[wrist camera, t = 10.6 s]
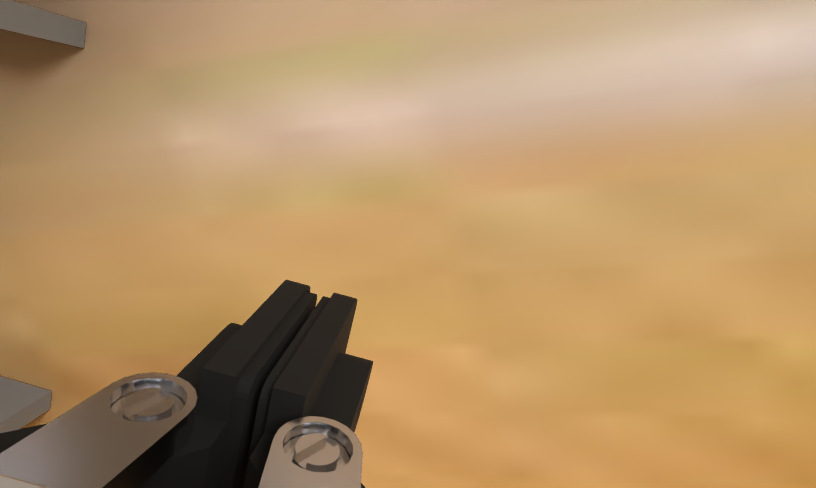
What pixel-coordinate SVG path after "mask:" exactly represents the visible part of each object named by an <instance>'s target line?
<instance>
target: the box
mask: <svg viewBox="0 0 816 488" xmlns="http://www.w3.org/2000/svg"><path fill="white" fill-rule="evenodd" d="M0 29H4V30H8V31H12V32H17V33H21V34H25V35H30V36H34V37H38V38H42V39H47V40H51V41H55V42H59V43H64V44H68V45H72V46H77V47H81V48H84V40H85V30H86V23H85V22H82V21H79V20H75V19H72V18H69V17H65V16H62V15H59V14H56V13H52V12H49V11H46V10H42V9H39V8H36V7H32V6H29V5H26V4H23V3H19V2H16V1H13V0H0ZM50 402H51V391H50V390H46V389H43V388H39V387H36V386H33V385H29V384H26V383H22V382H19V381H16V380H12V379H9V378H5V377H2V376H0V433H4V432H9V431H14V430H19V429H20V428H22V427H23V426H25V425H26V424H28V423H30V422H31V421H33V420H34V419H36V418H37V417H39V416H40V415H42V414H43V413H45V412H46V411H48V410H49V409H50Z"/></svg>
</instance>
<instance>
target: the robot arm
mask: <svg viewBox="0 0 816 488" xmlns="http://www.w3.org/2000/svg"><path fill="white" fill-rule="evenodd" d="M316 301H317V294H313V293H310V286H308V285H304V284H300V283H297V282H293V281H289V280H285V281H284V282H283V283H282V284H281V285H280V286H279V287H278V288H277V289H276V291H275V292H274V293H273V294H272V295H271V296H270V297H269V298H268V299H267V300H266V301H265V302H264V303H263V304H262V305H261V306H260V307H259V308H258V309H257V311H256V312H255V313H254V314H253V315H252V316H251V317H250V318H249V319H248V320H247V321H246V322H245V323H244V324H243V325H239V324H235V323H231V324H229V325H228V326H227V327H226V328H224V329H223V330H222V331H221V332H220V333H219V334H218V335H217V336H216V337H215V338H214V339H213V340H212V341H211V342H210V343H209V344H208V345H207V346H206V347H205V348H204V349H203V350H202V351H201V352H200V353H199V354H198V355H197V356H196V357H195V358H194V359H193V360H192V361H191V362H190V363H189V364H188V365H187V366H186V367H185V368H184V369H183V370H182V371H181V372H180V373H179V374H178V375H177V376H174V375H170V374H164V373H142V374H136V375H132V376H128V377H124V378H122V379H120V380H118V381H116V382H114V383H112V384H110V385H109V386H107V387H105V388H104V389H102V390H101V391H99V392H97V393H96V394H94V395H93V396H91V397H89V398H88V399H86V400H85V401H83V402H81V403H80V404H78V405H77V406H75V407H73V408H72V409H70V410H69V411H67V412H65V413H64V414H62V415H61V416H59V417H57V418H56V419H54V420H53V421H51V422H50V423H48V424H43V425H38V426H33V427H29V428H24V429H19V430H14V431H9V432H4V433H0V488H365V487H364V486H363V484H362V483H361V473H362V455H363V452H362V446H361V442H360V441H359V439H358V437H357V436H356V434H355V433H354V432H355V428H356V425H357V422H358V418H359V415H360V411H361V408H362V404H363V400H364V397H365V393H366V389H367V385H368V381H369V377H370V373H371V369H372V365H373V361H370V360H366V359H363V358H359V357H355V356H352V355H348V354H345V352H346V348H347V343H348V339H349V335H350V331H351V326H352V322H353V318H354V314H355V310H356V305H357V299H356V298H352V297H348V296H345V295H341V294H337V293H333V295H332V296H331V298H328V297H324V296H323V297H322V299H321V300H320V302H319V303H318V304H317V306H316ZM315 306H316V307H315Z"/></svg>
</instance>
